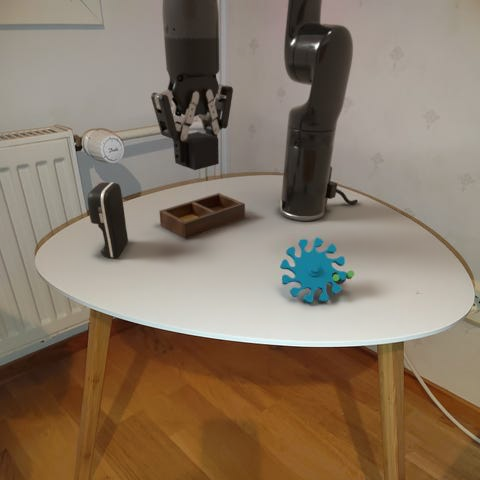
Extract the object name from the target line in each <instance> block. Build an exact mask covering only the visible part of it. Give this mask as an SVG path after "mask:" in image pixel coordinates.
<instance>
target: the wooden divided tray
mask: <svg viewBox="0 0 480 480" xmlns="http://www.w3.org/2000/svg"><path fill="white" fill-rule="evenodd" d="M245 214H246V204H245V203H244V202H242V201H239V200H237V199H234V198H233V197H229V196H227V195H225V194H222V193H220V192H218V193H214V194H211V195H207V196H205V197H200V198H198V199H193V200H191V201H188V202H184V203H180V204H177V205H174V206H171V207H167V208H165V209H160V210H159V221H160V226H161V227H163V228H164V229H165V230H168V231H170V232H172V233H173V234H175V235H177V236H179V237H180V238H183V239H185V240H188V239H190V238H193V237H196V236H199V235H201V234H204V233H206V232H210V231H213V230H216V229H218V228H221V227H224V226H227V225H229V224H231V223H235V222H237V221H241V220H242V219H245V217H246V215H245Z"/></svg>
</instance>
